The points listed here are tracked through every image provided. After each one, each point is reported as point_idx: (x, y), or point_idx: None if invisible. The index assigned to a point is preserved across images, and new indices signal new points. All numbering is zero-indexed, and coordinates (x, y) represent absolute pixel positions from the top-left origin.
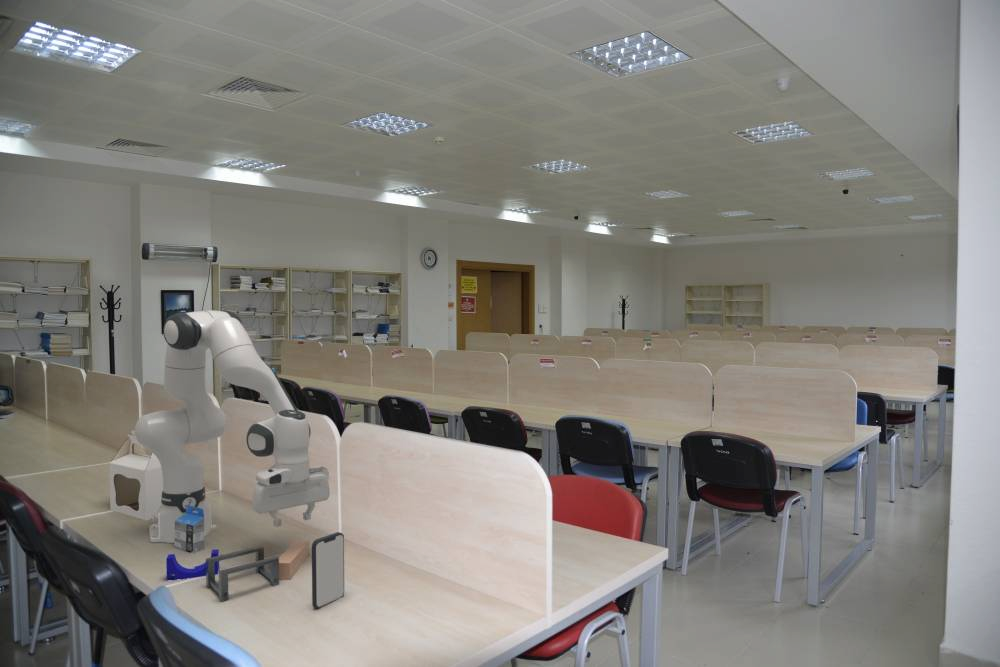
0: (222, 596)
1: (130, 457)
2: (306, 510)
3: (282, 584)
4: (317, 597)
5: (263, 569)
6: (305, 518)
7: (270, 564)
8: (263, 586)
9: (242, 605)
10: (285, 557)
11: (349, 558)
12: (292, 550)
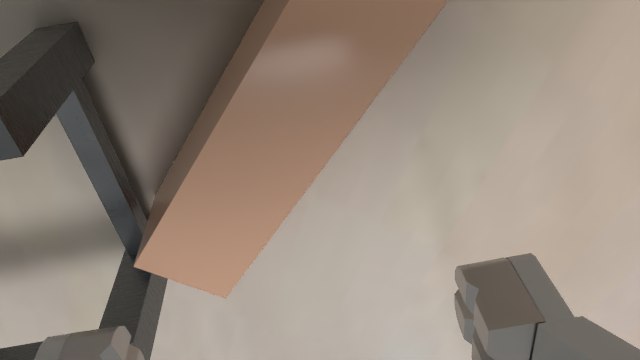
0: None
1: None
2: (560, 338)
3: None
4: None
5: (77, 141)
6: (463, 329)
7: (104, 316)
8: (96, 224)
9: (16, 341)
10: (211, 217)
11: (618, 88)
12: (284, 115)
